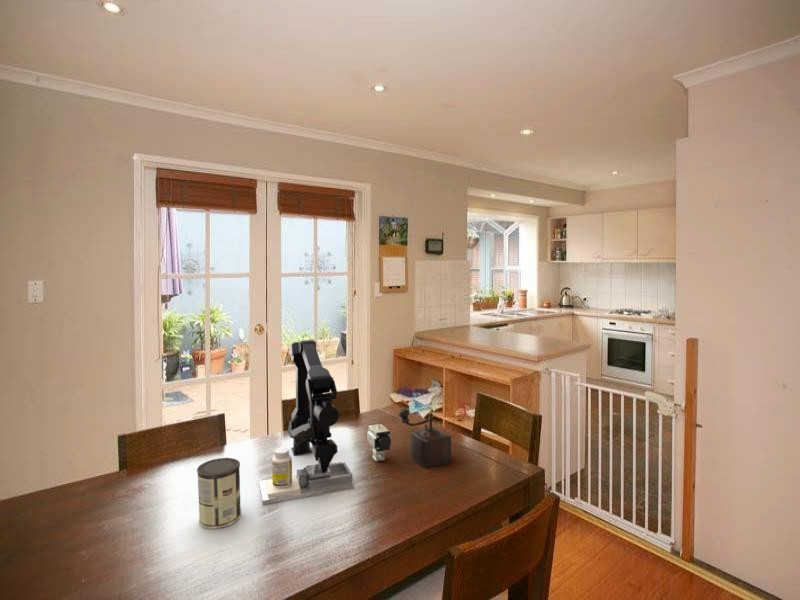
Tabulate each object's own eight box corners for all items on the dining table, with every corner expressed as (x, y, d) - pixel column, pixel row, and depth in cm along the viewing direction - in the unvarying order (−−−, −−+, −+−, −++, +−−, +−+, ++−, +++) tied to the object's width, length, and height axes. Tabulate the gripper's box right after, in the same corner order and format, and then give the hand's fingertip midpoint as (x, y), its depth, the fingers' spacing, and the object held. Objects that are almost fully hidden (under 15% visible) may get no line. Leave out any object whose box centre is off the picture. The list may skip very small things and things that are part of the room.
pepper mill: (434, 451, 163) (435, 401, 162) (451, 463, 153) (452, 410, 152) (395, 459, 156) (395, 407, 155) (410, 472, 146) (411, 417, 145)
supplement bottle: (284, 478, 138) (283, 444, 137) (296, 483, 134) (295, 449, 133) (268, 484, 133) (267, 450, 133) (279, 490, 130) (279, 455, 129)
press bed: (265, 482, 136) (265, 480, 136) (295, 477, 140) (295, 475, 140) (268, 496, 128) (267, 494, 128) (300, 491, 131) (300, 488, 131)
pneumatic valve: (379, 451, 163) (379, 418, 162) (391, 464, 152) (391, 429, 151) (364, 454, 160) (364, 420, 160) (375, 467, 150) (375, 431, 149)
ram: (296, 478, 138) (295, 453, 138) (325, 473, 142) (325, 449, 141) (299, 488, 132) (299, 461, 132) (330, 483, 136) (330, 457, 135)
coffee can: (217, 505, 126) (216, 455, 125) (249, 511, 123) (248, 460, 121) (189, 525, 116) (187, 471, 115) (222, 532, 113) (221, 477, 112)
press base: (259, 485, 137) (259, 473, 137) (344, 471, 147) (343, 460, 146) (262, 504, 126) (262, 491, 126) (354, 488, 136) (354, 476, 135)
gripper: (288, 409, 142) (288, 458, 143) (297, 429, 125) (298, 484, 126) (323, 405, 146) (324, 453, 147) (337, 424, 129) (337, 478, 130)
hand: (320, 466), depth 138 cm, fingers open, 9 cm apart
